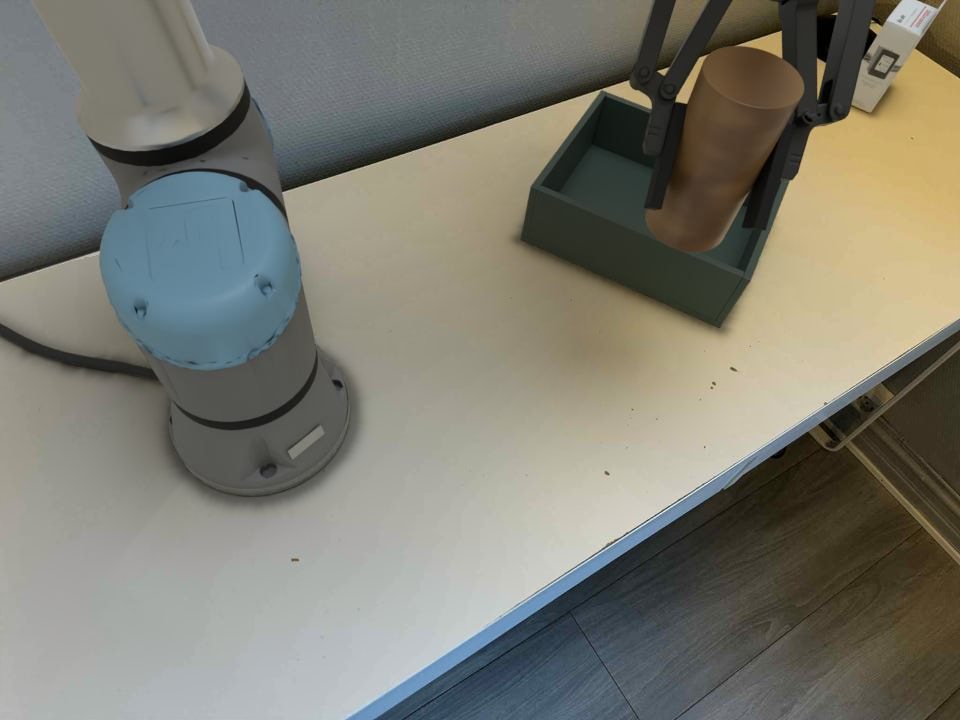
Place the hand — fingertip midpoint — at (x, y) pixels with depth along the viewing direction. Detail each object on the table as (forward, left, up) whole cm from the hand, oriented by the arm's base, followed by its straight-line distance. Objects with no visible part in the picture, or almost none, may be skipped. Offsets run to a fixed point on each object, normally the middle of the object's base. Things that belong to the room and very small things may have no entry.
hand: (702, 218), depth 44 cm
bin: (-5, +24, -24) cm, 35 cm away
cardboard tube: (-1, +4, -4) cm, 5 cm away
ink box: (+13, +67, -24) cm, 72 cm away
